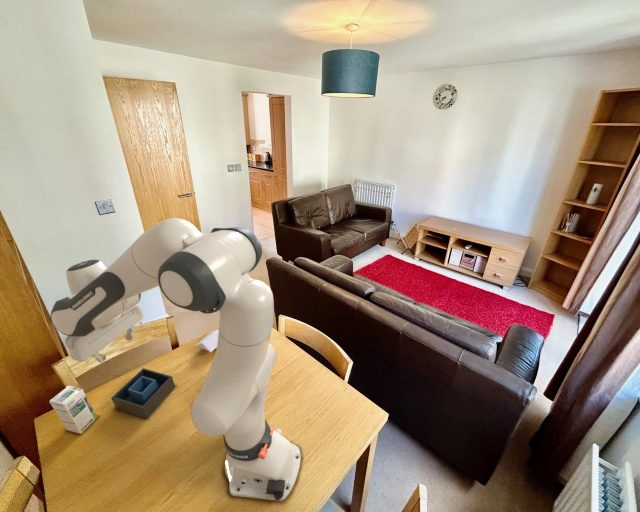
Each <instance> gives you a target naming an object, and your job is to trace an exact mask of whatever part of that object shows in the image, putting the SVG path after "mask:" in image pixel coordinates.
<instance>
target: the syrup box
mask: <svg viewBox="0 0 640 512" xmlns="http://www.w3.org/2000/svg"><path fill="white" fill-rule="evenodd" d="M49 404H50V406H51V407H52V408H53V410H54V412H55V413H56V415H57V416H58V418H59V420H60V421H61V423H62V424H63V426H64V427H65V429H66V431H68V432H73V433H77V434H80V435H81V434H83V433H84V431H86V429H87V428H89V427H90V426H91V425H92V424H93V423H94V422H95V421H96V420H97V419H98V416H97V414H96V412H95V410H94V409H93V407H92V404H91V403H90V401H89V399H88V397H87V395H86V393H85V392H84V389H82V388H81V387H77V386H73V385H67V386H66V387H65V388H64V389H62V390H61V391H59V392H58V393H57V394H56V395H55V396H54V397H52V398H51V399H50V400H49Z"/></svg>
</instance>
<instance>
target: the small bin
mask: <svg viewBox="0 0 640 512" xmlns="http://www.w3.org/2000/svg"><path fill="white" fill-rule="evenodd" d="M157 390H158V386H157V383H156V380H154V379H151V378H147V377H144V376H142V377H141V378H139V379H138V380H137V381H136V382H135V383H134V384H133V385H132V386H131V387H130V388H129V389H128V391H129V394H130V396H131V399H132V401H134V402H137V403H140V404H143V405H144V404H145V403H146V402H147V401H148V400H149V399H150V398H151V397H152V396H153V394H154V393H155V392H156V391H157Z"/></svg>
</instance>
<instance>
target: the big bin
mask: <svg viewBox="0 0 640 512" xmlns="http://www.w3.org/2000/svg"><path fill="white" fill-rule="evenodd" d="M142 376H144V377H147V378H151V379H154V380H156V383H157V386H158V390H157V391H156V392H155V393H154V394H153V396H152V397H151V398H150V399H149V400H148V401H147V402H146V403H145V404H144V405H143V404H140V403H137V402H134V401H132V399H131V396H130V394H129V391H128V389H129V388H130V387H131V386H132V385H133V384H134V383H135V382H136V381H137V380H138V379H139V378H141V377H142ZM175 387H176V385H175V382H174V379H173V375H169V374H165V373H162V372H159V371H156V370H155V371H154V370H151V369H149V368H148V369H147V368H144V367H143V368H142V369H140V370H139V371H138V372H137V373H136V374H135V375H134V376H133V377H132V378H131V379H130V380H129V381H128V382H127V383H125V384H124V385H123V386H122V387H121V388H120V389H119V390H117V392H116V393H114V394H113V396H111V400H112V402H113V405H114V408H115V409H117V410H120V411H123V412H126V413H129V414H132V415H134V416H137V417H140V418H143V419H148V418H149V417H150V416H151V414H153V412H154V411H155V410H156V409H157V408H158V407H159V405H161V403H162V402H163V401H164V400H165V398H167V396H169V394H170V393H171V392H172V391H173V390H174V388H175Z"/></svg>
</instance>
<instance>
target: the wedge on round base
mask: <svg viewBox="0 0 640 512" xmlns="http://www.w3.org/2000/svg"><path fill="white" fill-rule="evenodd" d="M218 332H219V329H215V330H212V331H210V332H209V333H208V334H207V335H205V336H204V337H203V338H202V339H201V340H199V342H197V343H196V344H195V345H194V346H195V347H197V348H199V349H201V350H205V351H207V352H209V353H212V352H213V351H214V350H217V343H218Z"/></svg>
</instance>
